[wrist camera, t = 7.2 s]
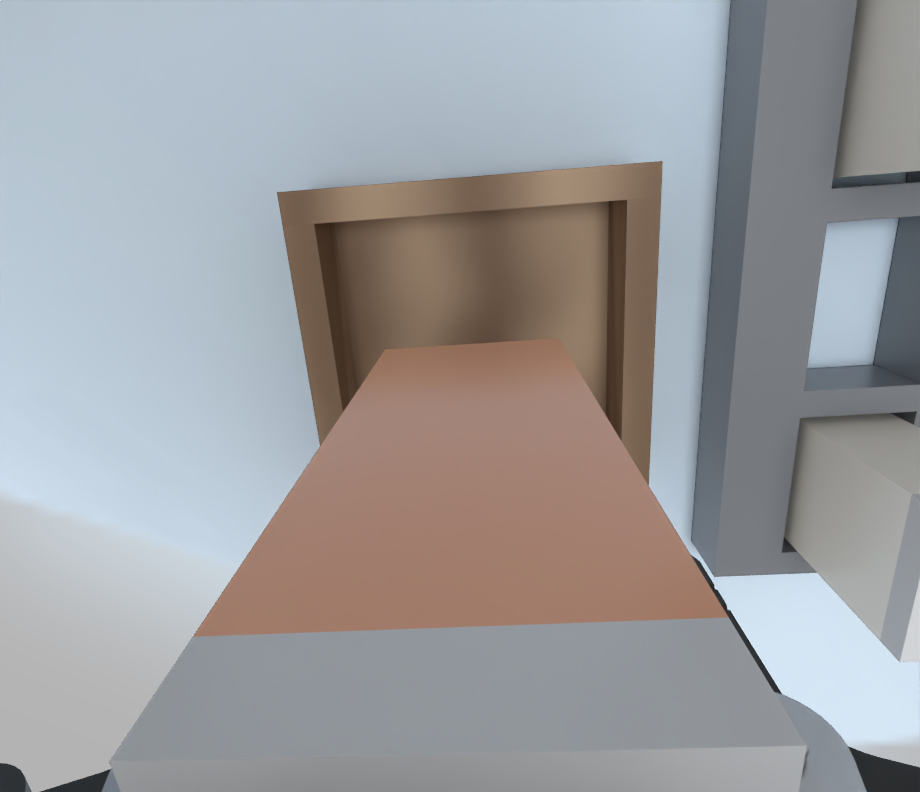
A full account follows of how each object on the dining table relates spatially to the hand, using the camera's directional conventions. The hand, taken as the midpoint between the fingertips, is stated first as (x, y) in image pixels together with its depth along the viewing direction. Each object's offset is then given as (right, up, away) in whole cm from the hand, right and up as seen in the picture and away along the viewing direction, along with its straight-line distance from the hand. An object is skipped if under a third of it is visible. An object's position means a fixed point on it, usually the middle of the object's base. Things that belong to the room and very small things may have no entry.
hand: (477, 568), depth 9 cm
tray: (+1, +6, +16) cm, 17 cm away
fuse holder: (+16, +7, +15) cm, 24 cm away
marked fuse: (0, +1, +4) cm, 4 cm away
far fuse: (+17, 0, +18) cm, 25 cm away
